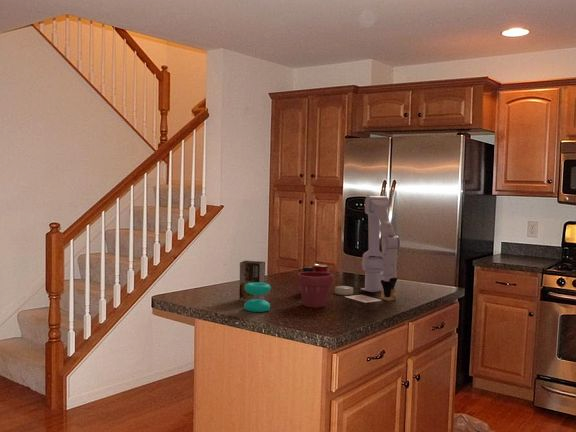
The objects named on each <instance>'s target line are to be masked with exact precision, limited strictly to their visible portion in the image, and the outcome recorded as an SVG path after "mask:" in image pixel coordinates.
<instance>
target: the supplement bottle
mask: <svg viewBox="0 0 576 432" xmlns="http://www.w3.org/2000/svg"><path fill="white" fill-rule="evenodd" d="M302 272H314V267H312V266H302ZM299 294H300V295H301V290H300V289H299Z"/></svg>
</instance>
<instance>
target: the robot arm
mask: <svg viewBox="0 0 576 432" xmlns="http://www.w3.org/2000/svg"><path fill="white" fill-rule="evenodd" d="M389 205H390V200H389V197H388V196H387V195H384V196H383V195H380V196H379V195H367V196H366V197H365V200H364V214H366V215H367V219H368V233H367V234H368V250H367V251H365V252H363V254H362V260H361V268H362V270H363V271H365V274H364V287H362V288H361V287H360V290H362V291H364V292H365V291H366V292H369V293H376V292H377V293H378V292H381V289H383V290H384V296H385V297H390V295H391V289H395V286H396V283H397V281H398V276H397V275H398V274H397V265H398V262H397V261H398V250H399V249H400V246H401V245H400V244H401V243H400V240H401V239H400V237H399V236H398V235H397V234H396V233H395V229H394V226H393V223H391V222H390V221H389V216H388V209H389V207H390V206H389ZM379 230H380V231H379ZM380 234H381V247H382V252H381V251H380V236H379V235H380Z"/></svg>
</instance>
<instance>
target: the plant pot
mask: <svg viewBox="0 0 576 432" xmlns="http://www.w3.org/2000/svg"><path fill="white" fill-rule="evenodd" d="M333 277H334V276H333V274H332V273H330V272H328V273H326V272H303V271H302V272H298V273H297V283H298V284H299V291H300V290H301V294H300V296H301V300H302V305H303V306H304V307H307V308H308V307H309V308H324V307H326V306H327V301H328V296H329V293H330V288H331V285H332V284H333Z"/></svg>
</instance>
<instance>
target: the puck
mask: <svg viewBox="0 0 576 432" xmlns="http://www.w3.org/2000/svg"><path fill="white" fill-rule="evenodd" d="M334 294H335V295H339V296H353V295H354V287H352V286H347V285H339V286H334Z"/></svg>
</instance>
